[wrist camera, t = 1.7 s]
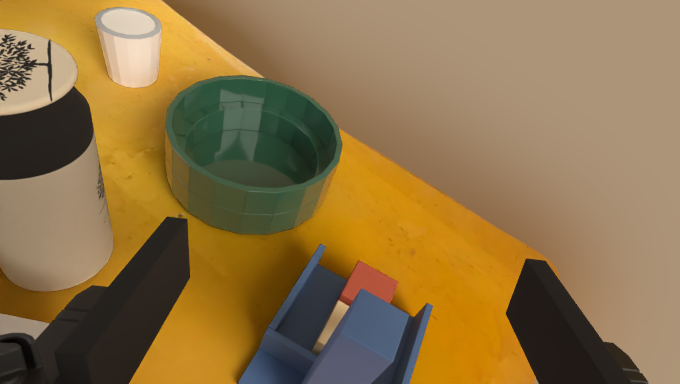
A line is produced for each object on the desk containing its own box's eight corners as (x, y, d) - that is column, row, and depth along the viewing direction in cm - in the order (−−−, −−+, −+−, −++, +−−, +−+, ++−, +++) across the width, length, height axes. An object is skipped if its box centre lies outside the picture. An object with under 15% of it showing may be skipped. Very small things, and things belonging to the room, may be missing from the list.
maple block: (348, 385, 34) (364, 368, 31) (305, 360, 34) (317, 341, 31) (366, 343, 37) (381, 324, 34) (326, 321, 37) (338, 299, 34)
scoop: (370, 465, 31) (471, 407, 20) (236, 384, 32) (266, 289, 21) (416, 323, 40) (503, 231, 30) (311, 263, 41) (358, 155, 31)
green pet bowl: (134, 153, 44) (128, 99, 39) (262, 108, 55) (271, 62, 50) (232, 268, 38) (241, 222, 34) (354, 193, 49) (373, 151, 44)
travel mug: (-11, 299, 31) (-138, 107, 18) (12, 214, 36) (-77, 16, 23) (110, 288, 34) (72, 117, 21) (117, 211, 39) (89, 34, 26)
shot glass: (98, 87, 49) (90, 32, 44) (105, 55, 53) (98, 1, 48) (162, 93, 51) (160, 42, 46) (164, 61, 56) (163, 11, 51)
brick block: (368, 338, 37) (384, 318, 34) (328, 315, 37) (341, 293, 35) (382, 302, 40) (398, 281, 37) (346, 282, 40) (359, 259, 37)
